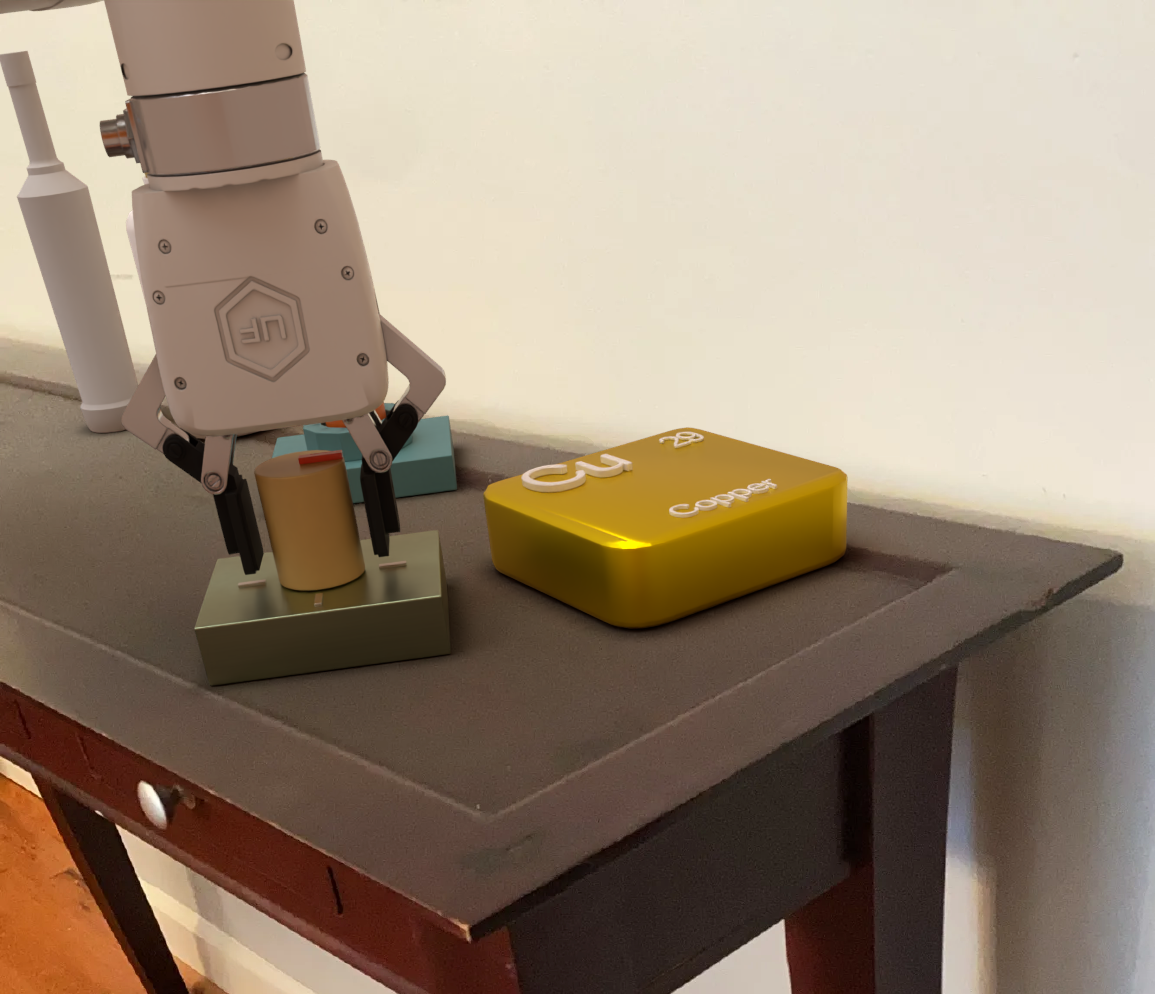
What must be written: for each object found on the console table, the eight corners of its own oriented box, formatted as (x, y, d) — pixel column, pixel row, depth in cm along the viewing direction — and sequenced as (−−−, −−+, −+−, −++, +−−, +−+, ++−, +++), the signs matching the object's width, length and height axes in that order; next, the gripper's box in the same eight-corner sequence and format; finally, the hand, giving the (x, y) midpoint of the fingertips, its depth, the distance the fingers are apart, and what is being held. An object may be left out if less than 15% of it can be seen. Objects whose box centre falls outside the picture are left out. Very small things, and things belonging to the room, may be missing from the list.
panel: (209, 686, 69) (192, 625, 67) (230, 612, 77) (215, 555, 75) (451, 654, 69) (441, 592, 67) (447, 583, 77) (437, 526, 75)
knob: (276, 596, 70) (247, 476, 66) (282, 566, 73) (256, 450, 69) (364, 584, 70) (340, 463, 66) (366, 554, 73) (344, 438, 70)
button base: (273, 514, 91) (258, 450, 88) (284, 470, 98) (270, 410, 96) (457, 490, 91) (447, 425, 88) (453, 447, 99) (444, 387, 96)
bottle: (76, 427, 115) (-36, 58, 99) (134, 412, 117) (33, 49, 102) (103, 437, 111) (-9, 56, 96) (161, 420, 114) (61, 46, 98)
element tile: (632, 639, 68) (624, 541, 66) (479, 566, 79) (466, 478, 76) (863, 555, 74) (865, 462, 71) (692, 498, 85) (688, 414, 82)
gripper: (7, 173, 57) (137, 606, 68) (430, 119, 57) (491, 559, 68) (46, 153, 63) (159, 554, 74) (428, 104, 63) (485, 511, 74)
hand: (318, 553), depth 71 cm, fingers open, 5 cm apart
